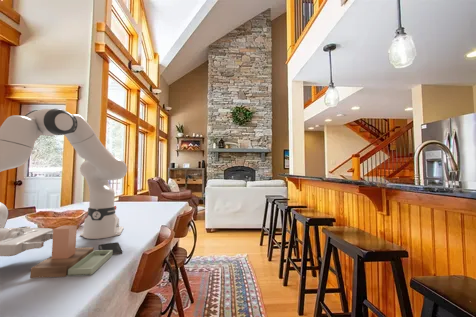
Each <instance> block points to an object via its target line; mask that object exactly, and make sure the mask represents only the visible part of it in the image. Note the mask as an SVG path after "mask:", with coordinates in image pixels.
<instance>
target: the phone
mask: <svg viewBox="0 0 476 317" xmlns="http://www.w3.org/2000/svg"><path fill="white" fill-rule="evenodd" d="M97 248H98V250H113V254H112V256H118V255H122V254H123V249H122V247H121V245H120V243H119V242H118V241H117V242H110V243H109V242H108V243H102V244H98V247H97ZM100 255H106V254H100Z"/></svg>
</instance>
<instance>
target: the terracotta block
mask: <svg viewBox="0 0 476 317" xmlns="http://www.w3.org/2000/svg"><path fill="white" fill-rule="evenodd" d="M77 226H78V225H60V226H58V227H56V228H55V227H54V228H52V229H53V239H52V242H51V243H52V246H51V256H52V259H66V258H69V257H71V256H72V255H74V254H75V250H76V248H77V245H76V244H77V228H78V227H77Z"/></svg>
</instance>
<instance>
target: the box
mask: <svg viewBox="0 0 476 317" xmlns="http://www.w3.org/2000/svg"><path fill="white" fill-rule="evenodd" d="M100 254H106V255H100ZM112 254H113V250H99V249H98V250H96V249H95V250H94V251H92V252H91V253H90V254H88V255H87V256H86V257H84V258H83V259H82V260H80V261H79V262H77V263H76V264H75V265H73V266H72V267H71V268H69V269H68V275H67V277H71V276H72V277H73V276H92V275H93V274H94V273H95V272H96V271H98V270H99V269H100V268H101V267H102V266H103V265H104V264H105V263H106V262H107V261H108V260H109V259H111V257H112V256H113V255H112Z"/></svg>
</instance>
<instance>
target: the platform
mask: <svg viewBox="0 0 476 317" xmlns="http://www.w3.org/2000/svg"><path fill="white" fill-rule="evenodd" d="M92 251H94V247H76V250H75V254H74V255H72V256H71V257H69V258H66V259H52V255H51V256H50V257H48V258H46V259H45V260H43V261H40V262H39V263H37V264H35V265H34V266H31V268H30V276H29V278H30V279H36V278H37V279H39V278H42V279H43V278H62V277H63V278H65V277H68V269H69V268H71V267H72V266H73V265H75V264H76V263H77V262H79V261H80V260H82V259H83V258H84V257H86V256H87V255H88V254H90V253H91V252H92Z"/></svg>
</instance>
